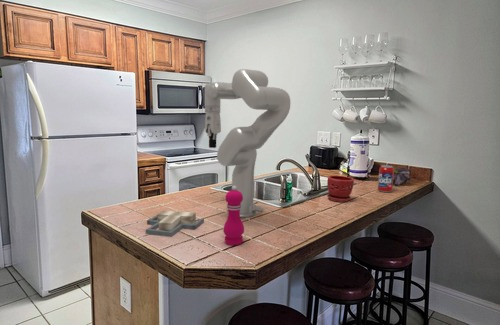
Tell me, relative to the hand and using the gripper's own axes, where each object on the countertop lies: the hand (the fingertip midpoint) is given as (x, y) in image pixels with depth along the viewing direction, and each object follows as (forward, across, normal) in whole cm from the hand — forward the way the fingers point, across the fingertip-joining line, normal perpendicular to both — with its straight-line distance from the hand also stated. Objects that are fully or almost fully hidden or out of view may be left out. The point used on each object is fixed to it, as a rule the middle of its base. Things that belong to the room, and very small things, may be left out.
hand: (212, 147), depth 162 cm
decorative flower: (+27, +75, -99) cm, 127 cm away
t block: (+27, -40, +1) cm, 48 cm away
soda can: (+27, +51, -88) cm, 105 cm away
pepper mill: (+27, -47, -26) cm, 60 cm away
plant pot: (+27, +23, -62) cm, 72 cm away
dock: (+27, -40, +2) cm, 48 cm away
